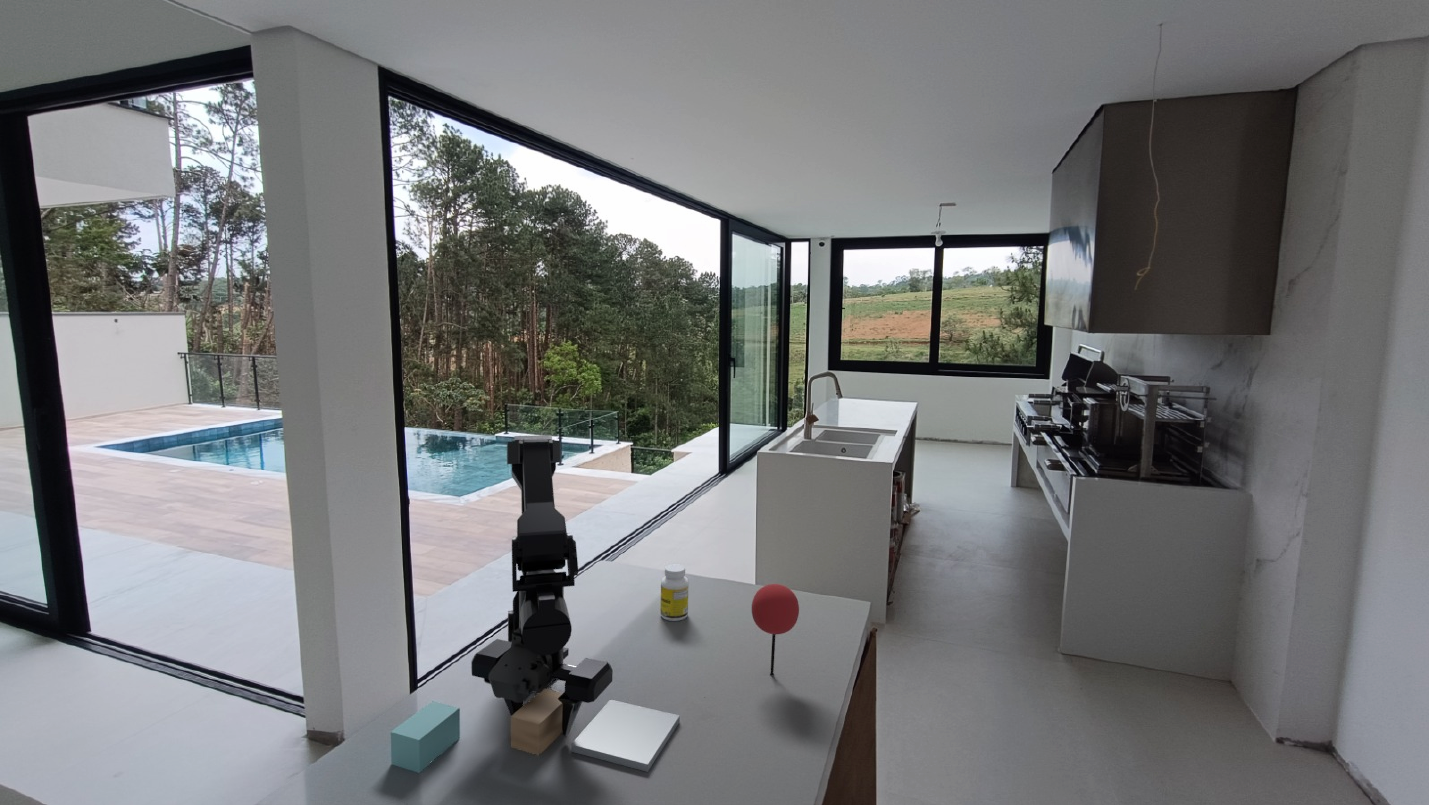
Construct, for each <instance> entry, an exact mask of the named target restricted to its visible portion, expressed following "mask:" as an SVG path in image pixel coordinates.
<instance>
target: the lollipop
mask: <svg viewBox="0 0 1429 805" xmlns="http://www.w3.org/2000/svg"><path fill="white" fill-rule="evenodd" d="M799 614H800V605H799V601H798V598H797V596H796V594H795V593H794V592H793V590H791V589H790V588H789V587H787V586H785V585H783V584H778V583H771V584H766V585H763V586H762V587H760V589H758V590H757V591H756V592H755V594H754V596H753V599H752V602H751V615H752V619H753V622H754V623H755V625H756V627H757V628H758V629H760V630H761V631H763V632H765V633H767V634H769V635H770V634H771V636H772V637H771V638H772V639H771V653H770V654H771V656H770V659H771V660H770V673H769V675H770V676H774V675H775V674H774V668H775V652H776V650H775V649H776V636H777V635H783V634H786V633H788V632H789V631H791V630H792V629H793V628H794V627H795V625H796V623H797V621H798V619H799V616H800V615H799Z"/></svg>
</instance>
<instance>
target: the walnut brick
mask: <svg viewBox="0 0 1429 805" xmlns="http://www.w3.org/2000/svg"><path fill="white" fill-rule="evenodd" d="M563 693H564V692H563ZM563 693H562V692H560V691H555V690H551V689H548V688H545V689H543V690H542V692H541V693H537V694H536V695H534V696H533V697H532V698H530V699H529V700H528V701H527V702H526V703H524V704H523V706H522V707H521V708H520V709H519V710H518V711H517V712H515V713H514V714H513V715H512V716H511V715H510V748H511V747H512V749H515V748H516V749H515V750H517V751H518V750H519V751H521V750H523V751H522V752H524V751H526V752H525V753H528V752H529V753H528V754H531V753H534V754H537V755H539V754H540V753H541V754H543V752H544V751H545V750H547V749H548V747H549V746H550V745H551V744H552V743H553V742H554V741H555V740H556V739H558V737H559V736H560V735H561V734H563V732H562V709H563V704H562V703H561V702H560V701H559V700H558V698H559V697H560V696H561V695H562V694H563ZM534 754H533V755H534ZM541 754H540V755H541ZM537 755H536V756H537ZM540 755H539V756H540Z"/></svg>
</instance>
